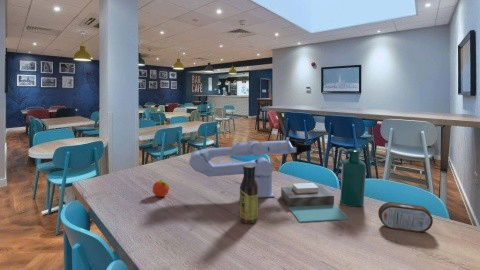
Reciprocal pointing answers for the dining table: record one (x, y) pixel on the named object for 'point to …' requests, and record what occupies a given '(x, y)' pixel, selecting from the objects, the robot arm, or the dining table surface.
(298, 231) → the dining table surface
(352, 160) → the green bottle
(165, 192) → the clementine
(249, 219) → the sauce bottle
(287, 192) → the grey flat block
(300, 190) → the white block
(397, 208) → the tin
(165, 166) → the dining table surface
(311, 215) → the mat
